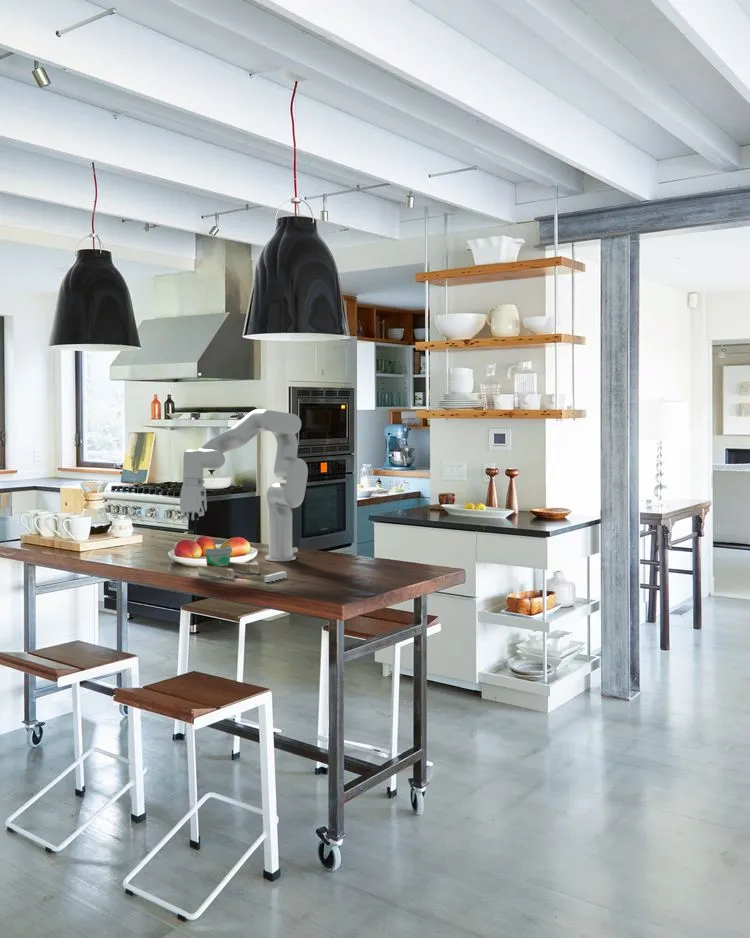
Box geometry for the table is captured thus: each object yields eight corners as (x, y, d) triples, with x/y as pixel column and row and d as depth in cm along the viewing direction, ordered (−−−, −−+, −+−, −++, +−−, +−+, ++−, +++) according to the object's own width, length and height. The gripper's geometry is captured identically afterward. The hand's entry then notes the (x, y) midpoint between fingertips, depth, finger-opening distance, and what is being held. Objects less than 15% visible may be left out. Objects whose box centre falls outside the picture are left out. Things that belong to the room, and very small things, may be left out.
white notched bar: (282, 577, 334) (282, 571, 334) (286, 578, 333) (286, 571, 333) (264, 582, 324) (264, 575, 324) (268, 583, 324) (268, 576, 324)
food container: (217, 577, 335) (217, 550, 334) (204, 575, 338) (204, 548, 337) (239, 572, 345) (239, 545, 344) (226, 570, 348) (226, 544, 348)
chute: (224, 568, 352) (224, 559, 351) (260, 573, 343) (260, 564, 343) (194, 575, 337) (194, 566, 337) (231, 580, 328) (231, 570, 328)
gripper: (214, 483, 346) (213, 530, 347) (185, 480, 353) (184, 527, 354) (201, 483, 339) (200, 532, 340) (171, 481, 347) (170, 529, 348)
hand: (192, 530), depth 347 cm, fingers closed
